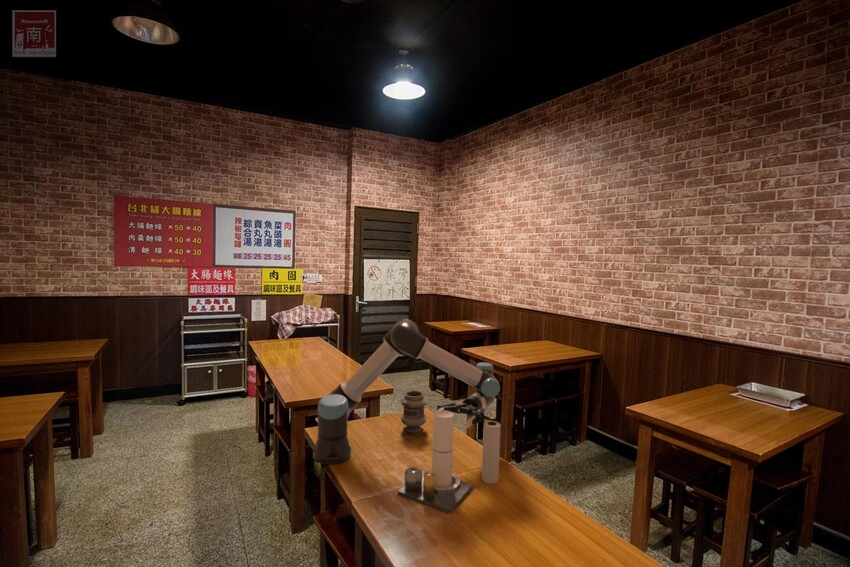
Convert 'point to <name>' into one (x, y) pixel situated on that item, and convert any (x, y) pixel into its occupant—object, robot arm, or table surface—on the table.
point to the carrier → (433, 490)
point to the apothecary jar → (413, 412)
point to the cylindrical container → (442, 448)
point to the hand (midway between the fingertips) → (450, 420)
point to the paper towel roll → (491, 451)
